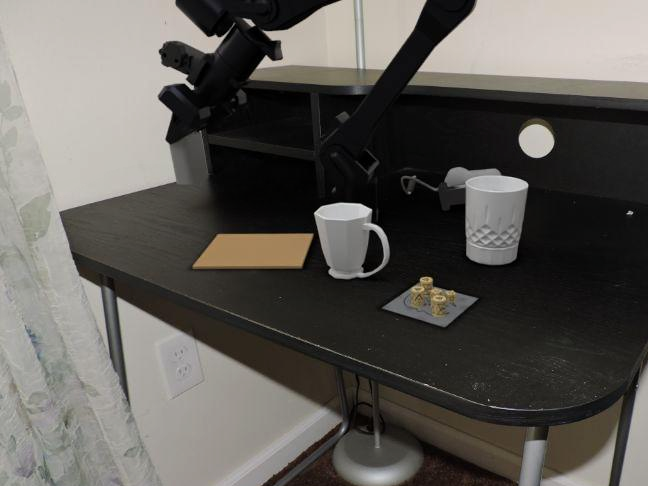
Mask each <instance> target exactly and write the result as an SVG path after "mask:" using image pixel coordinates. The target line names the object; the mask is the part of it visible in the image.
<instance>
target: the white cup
mask: <svg viewBox="0 0 648 486" xmlns="http://www.w3.org/2000/svg"><path fill="white" fill-rule="evenodd" d="M528 191H529V184H528V182H527V181H525V180H523V179H520V178H517V177H512V176H507V175H506V176H505V175H501V176H479V177H474V178H471V179H469V180H467V181H466V203H465V217H464V219H465V220H464V221H465V237H466V247H465V248H466V249H465V251H466V254H465V255H466V257H467V258H468V259H469V260H470V261H472V262H475V263H477V264H481V265H488V266H502V265H508V264H511V263H513V262H514V261H515V260H517V255H518V250H519V249H518V248H519V242H520V239H521V236H522V235H521V234H522V229H523V223H524V218H525V211H526V204H527V198H528Z"/></svg>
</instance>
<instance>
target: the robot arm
mask: <svg viewBox="0 0 648 486" xmlns="http://www.w3.org/2000/svg"><path fill="white" fill-rule="evenodd" d="M341 1H342V0H174V4H175V7H176V8H177V9H178V10H179V11H180V12H182V14H183V15H185V16H186V17H187V18H188V20H190V21H191V22H192V23H193V24H194V25H195V26H196V27H197V28H198V29H199V30H200V31H201V32H202V33H203V34H204V35H205V36H206V37H207V38H212V37H214V36H216V37H217V38H218V39H219V38H222V37H224V38H223V39H222V41H220V43H219V44H218V46H217V47H216V49H215V50H214V51H213V52H204V51H202V50H200V49H198V48H195V47H194V46H191V45H189V44H188V43H185V42H183V41H180V40H167V41H165V42H164V43H162V46H161V47H160V48H159V49H158V54H159V56H160V59H161V61H160V64H161V65H162V66H163V67H165V68H171V69H173V70H175V71H177V72H179V73H181V74H183V75H186V78H184V79H185V81H186V82H187V83H189V85H191V86H193V87H194V88H193V89H191V88H190V87H189V86H188V85H187V84H186V83H183V82H182V83H181V82H180V83H177V82H176V83H172V84H167V85H164V86H163V87H162V89H161V90H160V92H159V93H158V95H157V99H158V101H159V102H161V103H162V104H163V105H164V106H165V107H166V108H167V109H168V110H169V111H170V112H171V115H170V116H171V117H170V121H169V125H168V128H167V131H166V135H165V139H164V141H165V142H166V143H168V145H169V144H170V145H171V144H173V143H175V142H177V141H179V140H181V139H182V138H184V137H186V136H188V135H190V134H191V133H193V132H202V131H203V130H205V129H207V128H210V127H212V126H213V125H215V124H217V123H219V122H221V121H223V120H224V119H226V118H229V117H231V116H232V115H233V113H237V112H240V111H241V110H242V109H244V107H245V105H246V104H247V103H248V100H247V93H246V92H245V91H243V90H242V88H243V87H246V86H248V85H249V84H250V82H251V81H252V80H251V78H250V77H251V76H252V75H253V73H254V72H255V71H256V69H258V67H259V66H260V64H262V61H263V60H264V59H265V57H267V58H268V59H269V60H270V61H271V62H278V61H282V60H283V59H284V56H283V50H282V40H280V39H275V40H273V39H272V38H271V37H270V36H269V35H268V34H267V33H266V32H281V31H288V30H290V29H292V28H293V27H296V26H297V25H298V24H300V23H302V22H303V21H305V20H307V19H309V18H310V17H311V16H312V15H314V14H315V13H316V12H318V11H319V10H321V9H323V8H325V7H327V6H330V5H333V4H336V3H339V2H341ZM477 4H478V0H425V2H424V5H423V6H422V9H421V11H420V14H419V15H418V18H417V21H416V23H415V25H414V28H413V30H412V31H411V33H410V34H409V35H408V37H407V38H406V39H405V41H404V42H403V44H402V45H401V47H400V48H399V50H397V52H396V54H395V55H394V56H393V57H392V59H391V61H390V62H389V64H388V65H387V66H386V68H385V69H384V70H383V72H382V73H381V75H380V76H379V77H378V79H377V80H376V82H375V83H374V84H373V86H372V87H371V89H369V91H368V93H367V94H366V96H365V97H364V98H363V100H362V101H361V103H360V104H359V105H358V107H357V108H356V109H355V111H354V112H353V113H352V114H351V115H349V114H348V113H347V111H343V112H341V113H340V114H338V115H337V116H335V117H334V118H333V120H332V122H331V123H330V126H329V128H328V130H327V131H326V132H325V134H323V135H322V136H320V137H319V138H318V141H321V143H320V146H319V148H318V153H317V154H318V157H319V162H320V164H321V166H322V167H323V169H325V170H326V171H327V172H328V173H329V176H330V177H331V180H332V182H333V185H334V187H333V189H332V191H331V199H332V200H331V201H332V204H336V203H353V204H362V205H364V206H366V207H368V208H370V209H372V216H371V224H374V225H377V224H378V221H379V208H378V188H377V186H378V185H377V183H378V182H377V180H378V179H377V177H374V176H375V175H376V174H377V171H378V168H379V165H380V162H379V160H378V159H377V158H376V156H374V155H373V154H372V153H371V152H370V151H369V150H368V148H369V146H370V144H371V142H372V139H373V137H374V134H375V132H376V130H377V127H378V126H379V124H380V123H381V121H382V119H383V118H384V117H385V116H386V115H387V113H388V112H389V111H390V109H391V107H392V106H393V105H394V104H395V102H396V101H397V100H398V99H399V98H400V96H401V95H402V93H403V91H404V90H405V89H406V88H407V86H408V85H409V84H410V82H411V81H412V79H413V78H414V77H415V76H416V74H417V73H418V72H419V70H420V69H421V68H422V66H423V65H424V63H425V62H426V60H427V59H428V58H429V57H430V56H431V54H432V52H433V51H434V50H435V49H436V47H438V46H439V45H440V43H442V42H443V41H444V40H445V39H446V38H448V36H449V35H450V34H451V33H452V32H454V31H455V30H456V29H457V28H458V27H459V26H460V25H461V24H462V23H463V22H464V21H465V20H466V19H467V18H468V17H470V15H471V14H472V13H473V12H474V10H475V8H476V7H477ZM246 20H249V21H251V22H252V24H253V26H252V25H251V24H249V23H248V22H247V21H246ZM230 106H232V108H231V110H229V108H228V107H230ZM231 111H232V112H233V113H232V112H231Z"/></svg>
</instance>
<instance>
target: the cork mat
mask: <svg viewBox="0 0 648 486" xmlns="http://www.w3.org/2000/svg"><path fill="white" fill-rule="evenodd" d="M313 239H314V233H218V234H216V236H215V237H214V238H213V240H212V241H211V243H210V244H209V245H208V246H207V248H206V249H205V250H204V251H203V252H202V254H201V255H200V257H199V258H197V260H196V261H195V262H194V264H193V265H192V269H193V270H259V269H260V270H272V269H273V270H279V269H280V270H281V269H283V270H284V269H287V270H288V269H289V270H290V269H291V270H293V269H295V270H296V269H297V270H298V269H300V270H301V269H303V267H304V264H305V261H306V258H307V255H308V252H309V250H310V247H311V244H312V242H313Z"/></svg>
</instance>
